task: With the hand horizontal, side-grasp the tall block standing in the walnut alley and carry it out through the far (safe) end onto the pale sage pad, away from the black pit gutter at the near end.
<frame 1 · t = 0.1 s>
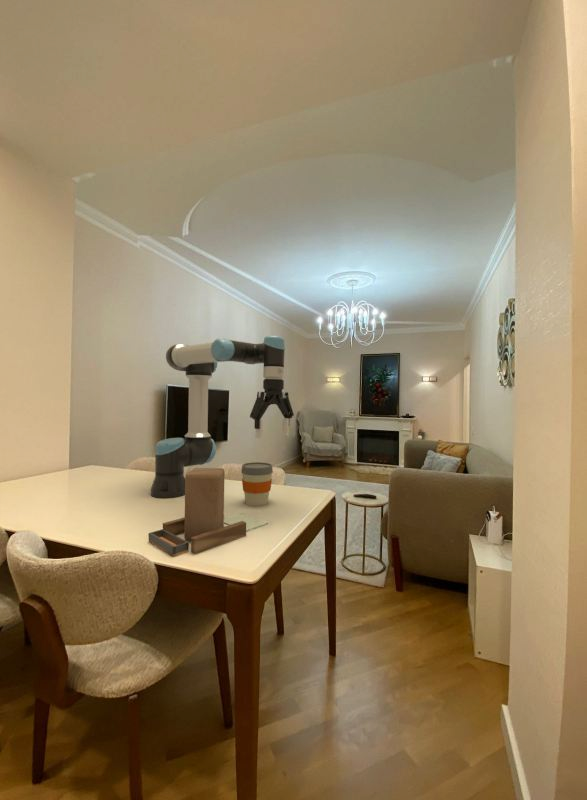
hand: (272, 436, 130), 28 cm above the table, tool pointing down, fingers open, 13 cm apart
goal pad: (243, 522, 120), on the table
block: (204, 536, 108), on the table
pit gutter: (167, 546, 100), on the table
alley: (204, 535, 108), on the table
reusable coffee cup: (256, 502, 143), on the table
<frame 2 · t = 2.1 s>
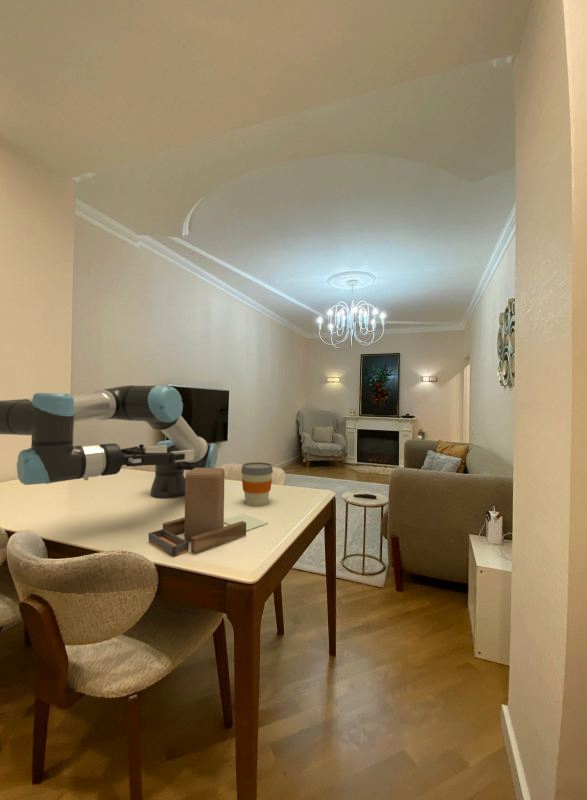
hand: (179, 452, 101), 27 cm above the table, tool horizontal, fingers open, 13 cm apart
nothing on the table moved.
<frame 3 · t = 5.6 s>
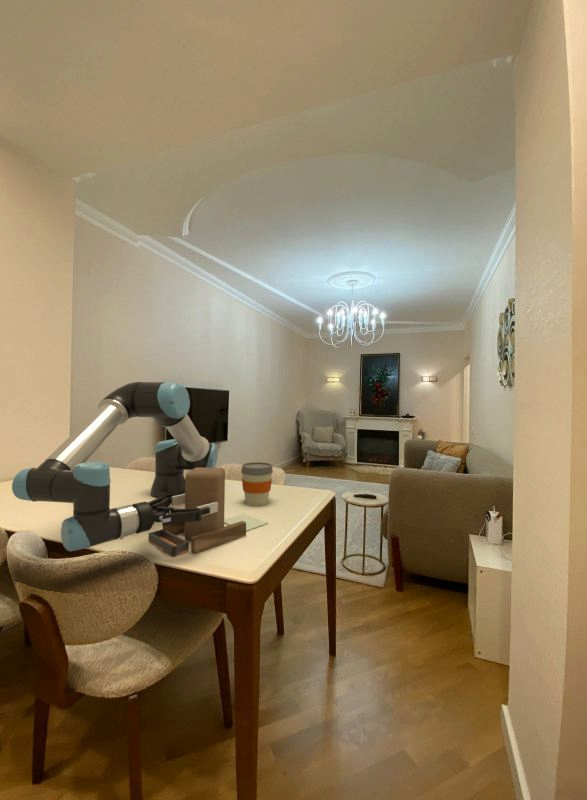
hand: (203, 501, 107), 11 cm above the table, tool horizontal, fingers open, 13 cm apart
block: (204, 536, 108), on the table, touching gripper
everything else where it was.
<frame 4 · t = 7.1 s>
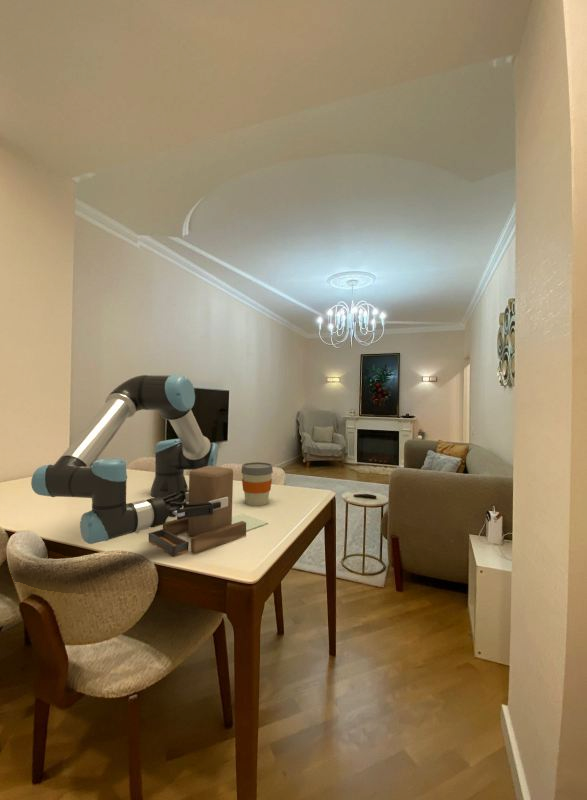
hand: (215, 497, 111), 11 cm above the table, tool horizontal, fingers closed on block, 12 cm apart
block: (210, 533, 110), on the table, touching gripper
everything else where it was.
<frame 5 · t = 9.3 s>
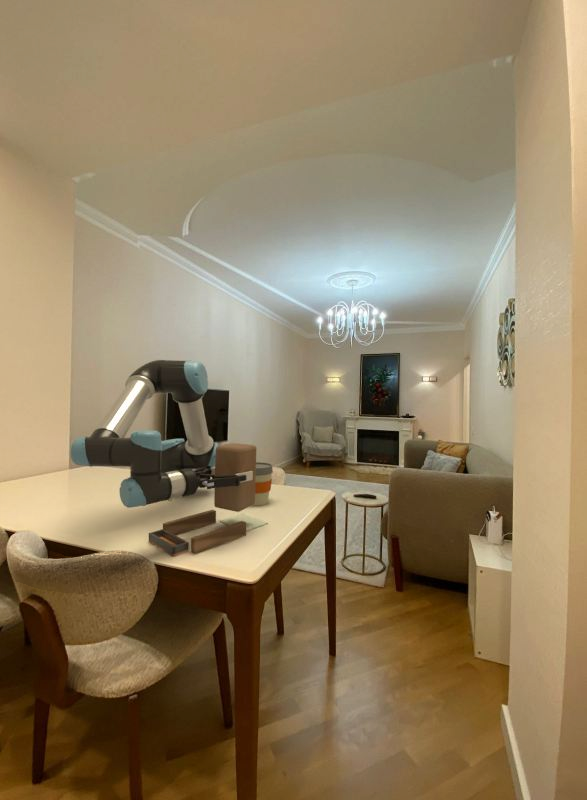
hand: (239, 472, 117), 18 cm above the table, tool horizontal, fingers closed on block, 12 cm apart
block: (234, 506, 116), point 6 cm above the table, touching gripper
everything else where it was.
when the fingers open (12 cm above the table, at t = 11.9 s): block drops 1 cm, resting on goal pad.
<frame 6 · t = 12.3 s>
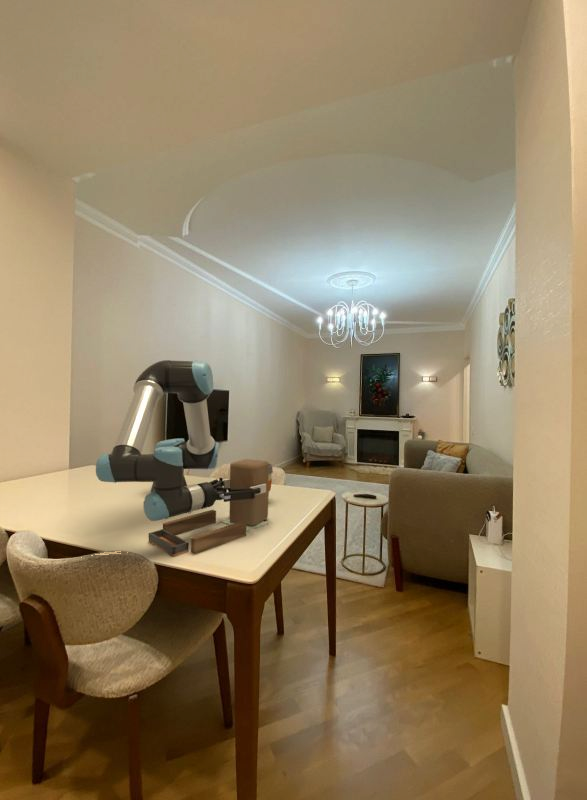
hand: (251, 484, 122), 12 cm above the table, tool horizontal, fingers open, 13 cm apart
block: (248, 520, 121), resting on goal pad
everything else where it was.
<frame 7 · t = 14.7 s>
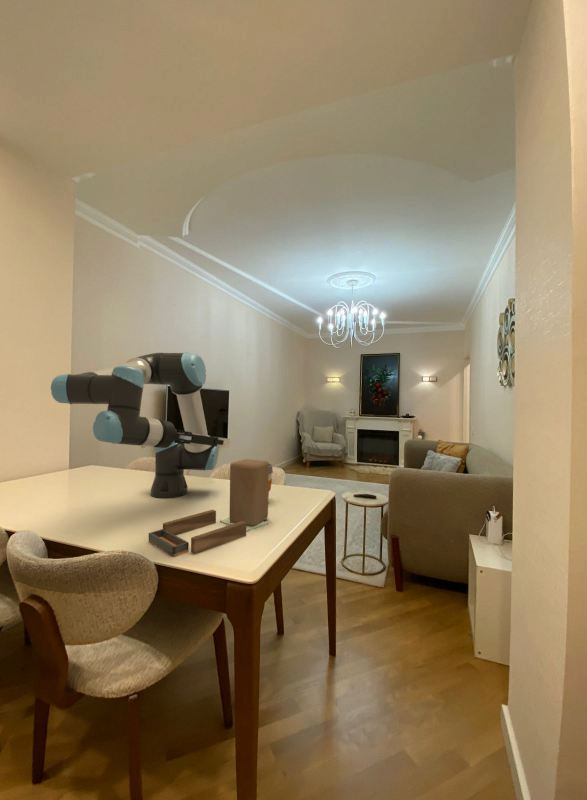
hand: (213, 440, 114), 28 cm above the table, tool horizontal, fingers open, 13 cm apart
nothing on the table moved.
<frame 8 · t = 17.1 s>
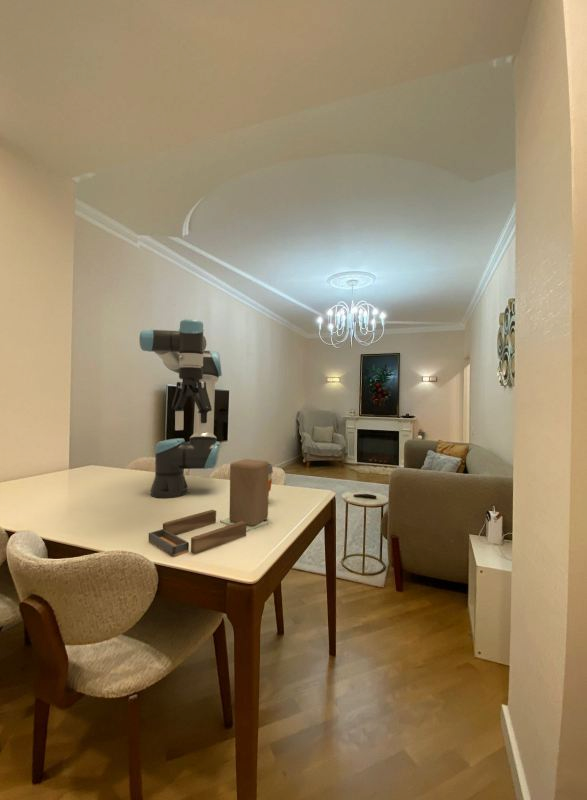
hand: (190, 431, 117), 31 cm above the table, tool pointing down, fingers open, 13 cm apart
nothing on the table moved.
at the end: block inside the target area (2.2 cm from its centre), resting on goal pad; block tilted 0°; the gripper is holding nothing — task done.
